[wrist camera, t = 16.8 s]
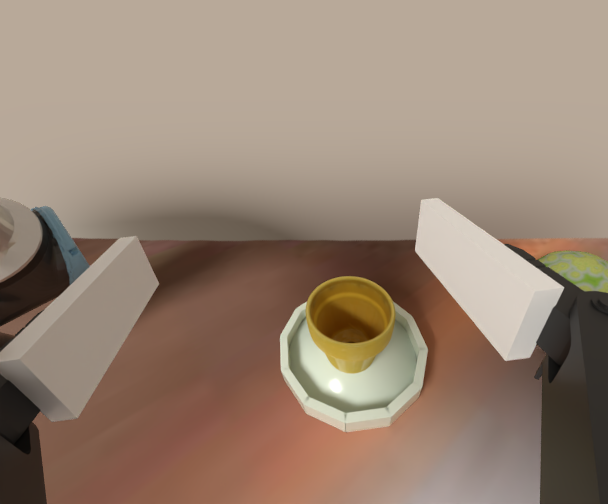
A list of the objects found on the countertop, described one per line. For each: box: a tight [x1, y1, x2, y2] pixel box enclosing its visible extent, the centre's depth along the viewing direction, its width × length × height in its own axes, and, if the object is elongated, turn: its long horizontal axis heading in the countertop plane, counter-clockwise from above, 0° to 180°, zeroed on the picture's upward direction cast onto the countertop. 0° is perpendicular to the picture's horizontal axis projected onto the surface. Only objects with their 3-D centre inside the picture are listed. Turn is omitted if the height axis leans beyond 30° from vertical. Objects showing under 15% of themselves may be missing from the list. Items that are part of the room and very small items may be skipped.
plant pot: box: [306, 276, 396, 374], centre depth 35 cm, size 10×10×10 cm
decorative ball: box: [538, 251, 608, 293], centre depth 37 cm, size 10×10×10 cm
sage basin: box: [280, 302, 428, 432], centre depth 38 cm, size 19×19×3 cm
